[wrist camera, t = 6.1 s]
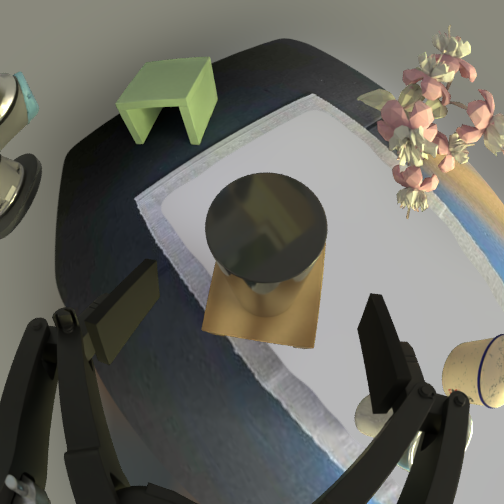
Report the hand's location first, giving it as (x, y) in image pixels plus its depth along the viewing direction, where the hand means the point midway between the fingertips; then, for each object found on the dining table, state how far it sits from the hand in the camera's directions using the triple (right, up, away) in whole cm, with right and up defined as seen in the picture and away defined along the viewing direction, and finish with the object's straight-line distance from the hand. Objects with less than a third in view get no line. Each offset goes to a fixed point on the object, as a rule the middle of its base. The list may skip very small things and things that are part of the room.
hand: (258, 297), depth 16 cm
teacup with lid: (+30, -15, +11) cm, 36 cm away
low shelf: (+1, -3, +17) cm, 17 cm away
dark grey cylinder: (+1, -1, +11) cm, 11 cm away
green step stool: (-14, +26, +28) cm, 41 cm away
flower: (+24, +15, +22) cm, 36 cm away
